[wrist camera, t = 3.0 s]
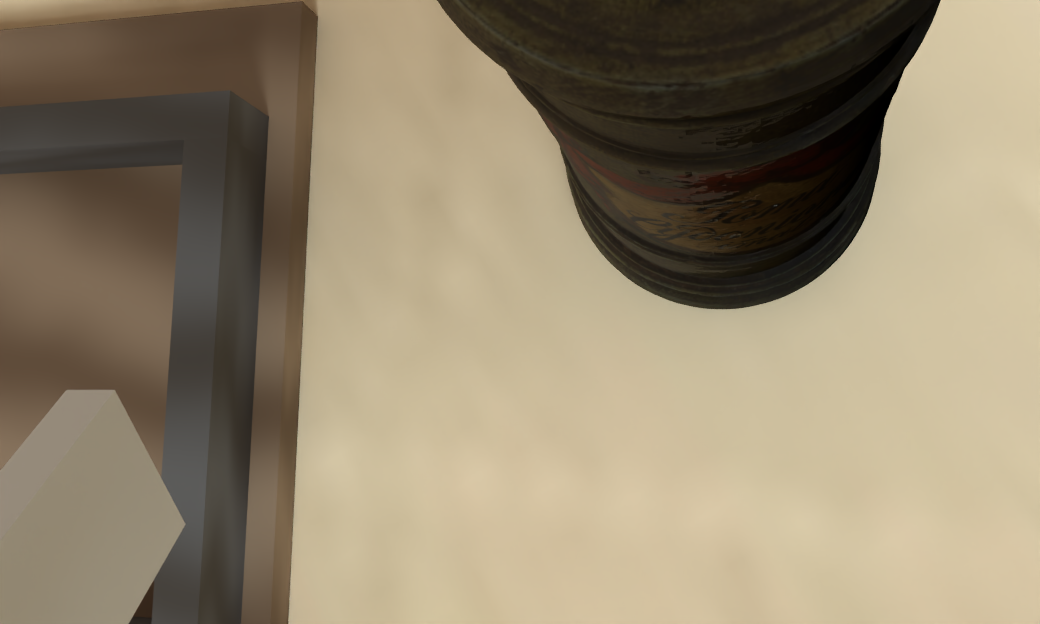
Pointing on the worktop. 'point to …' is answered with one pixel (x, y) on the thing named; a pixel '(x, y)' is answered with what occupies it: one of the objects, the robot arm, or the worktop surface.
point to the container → (710, 127)
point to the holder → (168, 270)
